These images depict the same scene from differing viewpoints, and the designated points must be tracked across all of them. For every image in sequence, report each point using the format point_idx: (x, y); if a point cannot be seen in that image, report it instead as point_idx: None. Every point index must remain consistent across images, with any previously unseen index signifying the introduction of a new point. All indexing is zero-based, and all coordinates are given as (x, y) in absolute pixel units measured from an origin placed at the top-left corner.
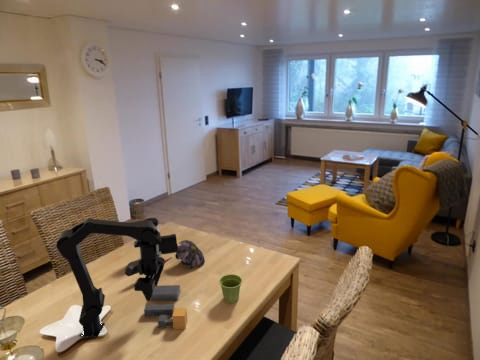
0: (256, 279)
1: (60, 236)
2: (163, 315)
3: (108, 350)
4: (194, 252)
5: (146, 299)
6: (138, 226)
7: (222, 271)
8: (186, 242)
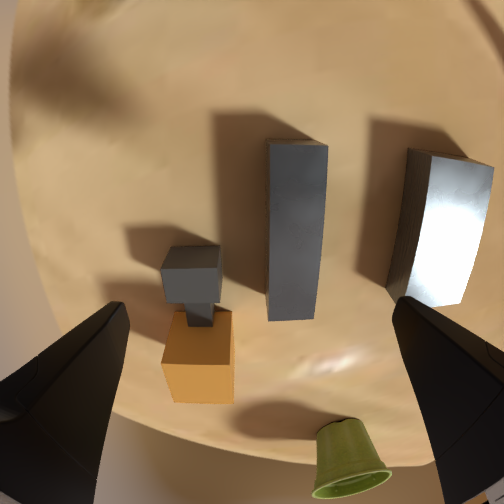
0: (402, 444)
1: None
2: (213, 286)
3: (28, 67)
4: None
5: (97, 314)
6: None
7: None
8: None
